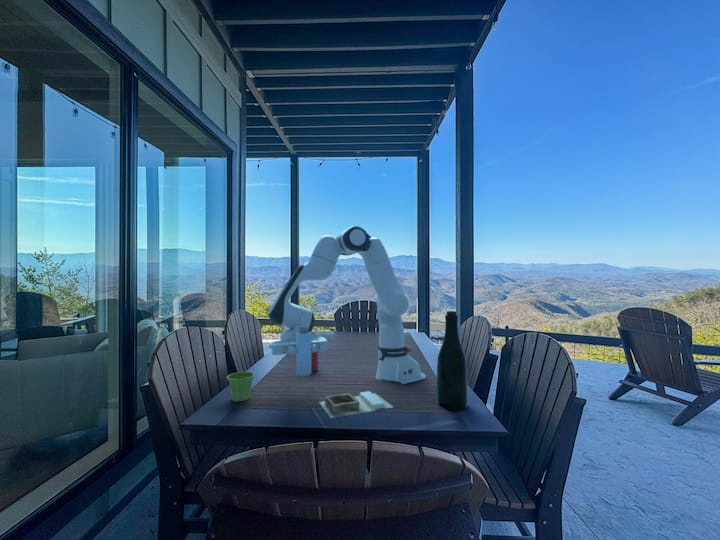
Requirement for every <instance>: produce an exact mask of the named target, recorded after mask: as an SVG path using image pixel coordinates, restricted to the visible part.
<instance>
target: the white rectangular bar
mask: <svg viewBox="0 0 720 540" xmlns="http://www.w3.org/2000/svg"><path fill="white" fill-rule="evenodd" d="M359 396H360V398H361V399H363V400H364V401H365V402H366V403H367V404H368V405H369V406H370V407H372V408H373V409H378V408H384V402H383V401H381V400H380V399H379V398H378V397H376V396H375V395H374V393H372V392H371V391H370V390H369V391H361V392H359Z"/></svg>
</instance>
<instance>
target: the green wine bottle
mask: <svg viewBox="0 0 720 540" xmlns="http://www.w3.org/2000/svg"><path fill="white" fill-rule="evenodd" d="M444 319H445V329H444V338H443V341H442V344H441V346H440V348H439V352H438V354H437V355H438V356H437V363H436V365H437V366H436V404H437V405H438V406H439V407H440V408H443V409H444V410H447V411H453V412H455V411H456V412H457V411H458V412H459V411H463V410H465V409H467V408H468V405H469V399H468V397H469V395H468V391H469V390H468V387H469V386H468V367H467V357H466V353H465V351H464V348H463V346H462V343H461V339H460V335H459V322H458V321H459V316H458V314H457V311H455V310H447V311H446V314H445V316H444Z"/></svg>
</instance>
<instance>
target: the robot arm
mask: <svg viewBox="0 0 720 540" xmlns="http://www.w3.org/2000/svg"><path fill="white" fill-rule="evenodd" d="M355 254H359V255H360V257H361V258H362V260H363V263H364V266H365V269H366V272H367V275H368V277H369V280H370V283H371V284H372V286H373V288H374V290H375V293H376V295H377V297H376V299H375V304H376V310H377V311H376V313H377V314H376V315H377V321H378V322H377V323H378V336H379V337H378V340H379V341H378V345H377V348H378V349H377V356H378V357H377V358H378V359H377V360H378V364H377V370H376V375H375V379H376V380H377V381H380V380H383V381H390V382H398V383H400V384H403V385H405V384H409V383H413V382H417V381H422V380H425V379H427V376H426V374H425V373H423V372H422V370H421V366H420V363H419V362H418V361H417V360H416V359H414V358H413V357H412V356H410V355H409V354H408V353H412V347H409V346H405V328H404V324H403V319H402V316H403V315H404V314H405V313H407V311H408V309H409V304H410V303H409V299H408V298H407V296H406V295H405V293H404V291H403V288H402V287H401V284H400V282H399V280H398V278H397V276H396V274H395V272H394V268H393V267H392V266H393V265H392V263H391V260H390V257H389V255H388V253H387V250H386V248H385V246H384V244H383V242H382V241H381V240H380V238H377V237H371V235H369V234H368V232H367V231H366V229H364V228H363V227H361V226H358V225H352V226H349V227H348V228H347V229H345V230H343V231H342V232H341V233H340V234H338V236H336V237H335V236H333V235H330V234H329V235H328V234H327V235H326V234H325V235H322V236H321V237H320V239H319V240H318V242H317V243H316V244H315V247H314V249H313V251H312V253H311V255H310V258H309V259H308V260H307V262H305V263H304V264H300V265H298V266H297V268H296V269H295V270H294V272H293V273H292V275H290V277H289V279H288V280H287V282H286V284H285V285H284V287H283V289H282V290H281V292H280V293H279V295H278V296H277V298H276V299H275V300H274V302H273V303H272V304H271V305H270V307H269V309H268V314H267V316H268V319H269V320H270V322H271V324H273V325H277V326H283V327H285V328H284V329H283V330H281V332H280V338H279V339H280V340H276V341H272V342H271V344H269V345H268V347H269V349H271V355H273V356H280V355H281V356H282V355H292V356H296V357H297V332H300V327H301V326H308V332H311V352H316V351H318V352H323V351H328V349H329V340H328V338H325V337H324V336H321V335H320V334H319V333H317V332H316V333H315V332H312V331H313V329H314V326H315V323H316V318H315V314H314V312H313V310H311V309H309V308H306V307H303V306H301V305H298V304H296V303H292V302H291V301H290V298H291V297H292V296H293V294H294V292H295V291H296V290H297V287H298V286H299V284H301V283H302V282H306V281H323V280H327V279H328V278H329V277H331V275H333V273H334V270H335V269H336V265H337V262H338V260H339V258H340V256H352V255H355Z"/></svg>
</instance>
